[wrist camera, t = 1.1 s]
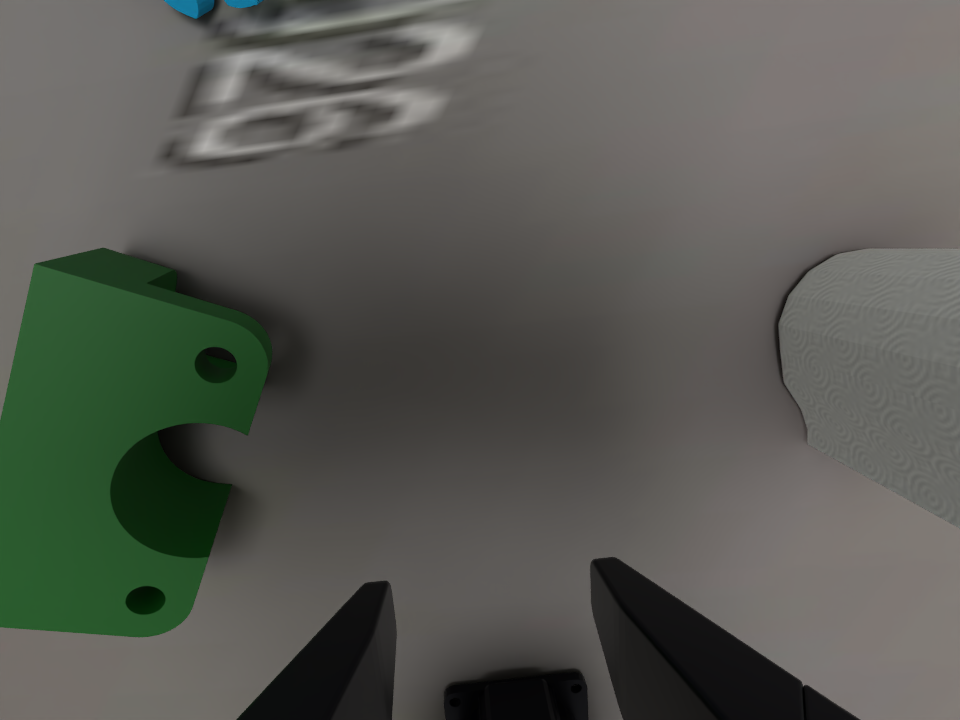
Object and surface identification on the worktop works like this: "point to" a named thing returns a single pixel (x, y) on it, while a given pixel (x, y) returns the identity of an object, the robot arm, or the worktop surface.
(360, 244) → the worktop surface
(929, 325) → the paper towel roll
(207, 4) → the gear
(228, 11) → the worktop surface
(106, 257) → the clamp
